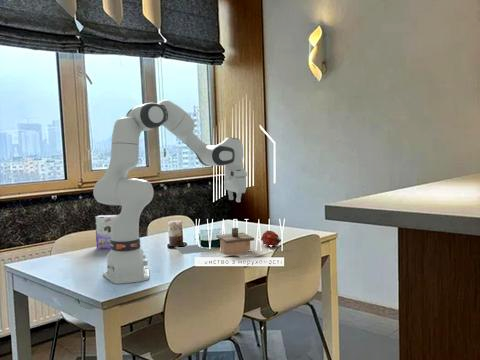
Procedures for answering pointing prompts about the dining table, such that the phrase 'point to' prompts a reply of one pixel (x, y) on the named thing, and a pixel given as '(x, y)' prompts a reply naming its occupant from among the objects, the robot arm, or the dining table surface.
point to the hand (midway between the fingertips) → (234, 200)
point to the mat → (192, 249)
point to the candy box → (103, 231)
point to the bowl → (234, 247)
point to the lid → (235, 237)
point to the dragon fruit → (270, 238)
